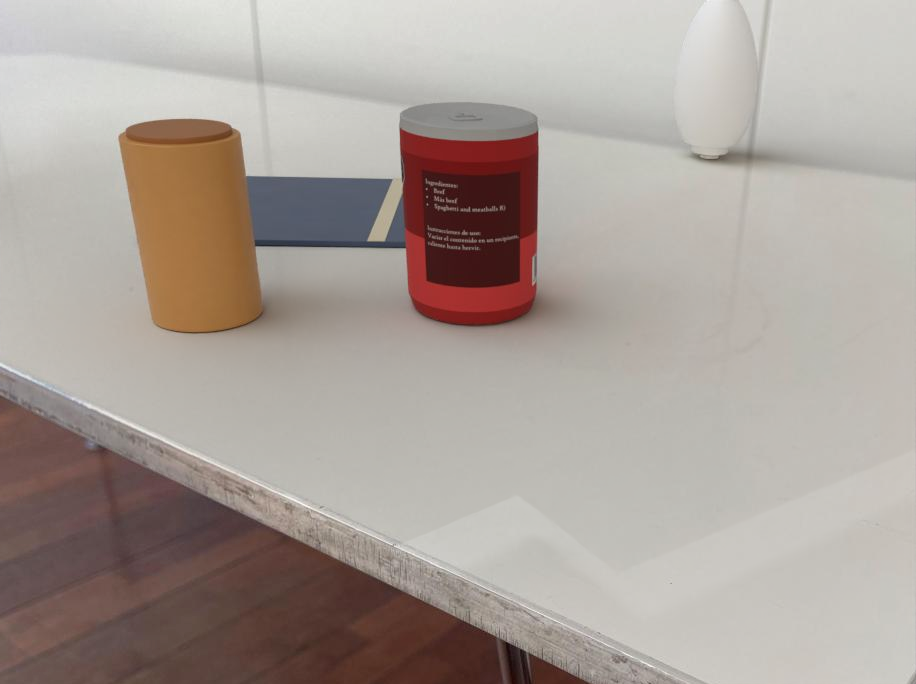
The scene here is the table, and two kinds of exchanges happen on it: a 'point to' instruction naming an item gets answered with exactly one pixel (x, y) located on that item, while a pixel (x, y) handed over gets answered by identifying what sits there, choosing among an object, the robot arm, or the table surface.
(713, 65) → the white tall oval piece
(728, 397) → the table surface
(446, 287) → the canned food
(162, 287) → the lidded tan canister
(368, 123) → the table surface
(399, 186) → the placemat
